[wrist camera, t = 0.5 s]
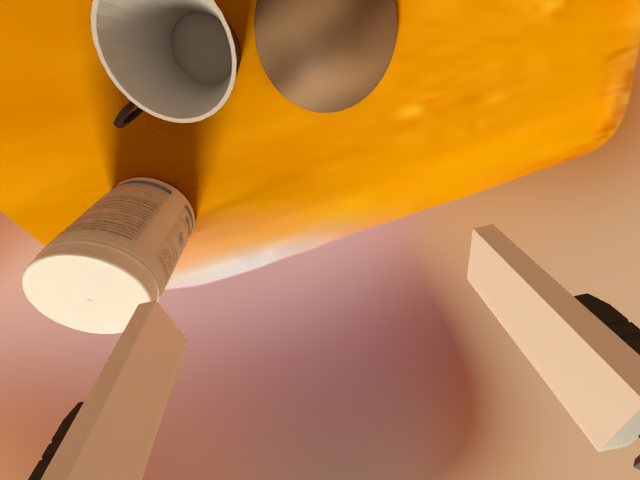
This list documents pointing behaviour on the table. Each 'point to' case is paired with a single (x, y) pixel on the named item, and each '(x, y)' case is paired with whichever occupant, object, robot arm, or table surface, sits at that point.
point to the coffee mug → (166, 56)
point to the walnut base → (325, 49)
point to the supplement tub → (112, 257)
